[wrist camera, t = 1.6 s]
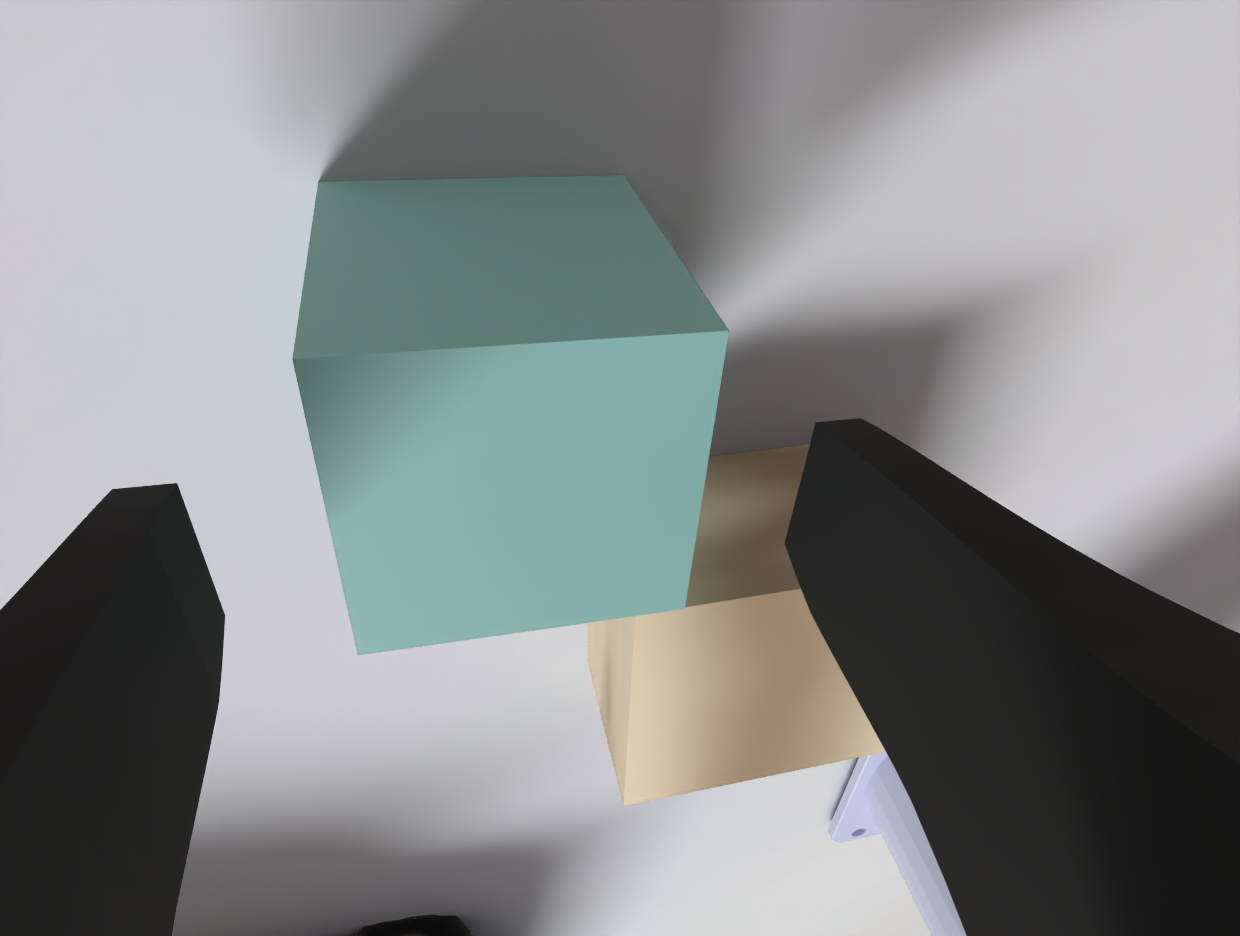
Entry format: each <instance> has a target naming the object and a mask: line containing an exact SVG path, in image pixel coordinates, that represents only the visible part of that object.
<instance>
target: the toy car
mask: <svg viewBox="0 0 1240 936" xmlns="http://www.w3.org/2000/svg"><path fill="white" fill-rule="evenodd" d="M357 936H471V933H470V930H469V929H468V928H467V927H466V926H465V925H464V924H463V923H462V922H461V921H460V919H459V918H458V917H457V916H439V915H425V916H416V917H409V918H405V919H401V920H396V921H389V922H382V923H378V924H374V925H370V926H364V927H363V929H362V930H361V931H360V932H359V933H358V934H357Z"/></svg>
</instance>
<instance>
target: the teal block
mask: <svg viewBox="0 0 1240 936" xmlns="http://www.w3.org/2000/svg"><path fill="white" fill-rule="evenodd" d="M728 335H729V330H728V328H727V327H726V325H725V324H724V322H723V321H722V319H721V318H720V316H719V315H718V313H717V312H716V311H715V309H714V308H713V306H712V305H711V303H710V302H709V300H708V299H707V297H706V296H705V294H704V293H703V291H702V290H701V288H700V287H699V285H698V284H697V282H696V281H695V279H694V278H693V276H692V275H691V273H690V272H689V271H688V269H687V268H686V266H685V265H684V263H683V262H682V260H681V259H680V257H679V256H678V254H677V253H676V251H675V250H674V248H673V247H672V245H671V244H670V242H669V241H668V239H667V238H666V236H665V235H664V233H663V232H662V231H661V229H660V228H659V226H658V225H657V223H656V222H655V220H654V219H653V217H652V216H651V214H650V213H649V211H648V210H647V208H646V207H645V205H644V204H643V202H642V201H641V199H640V198H639V196H638V195H637V193H636V192H635V190H634V189H633V188H632V186H631V185H630V183H629V182H628V180H627V179H626V177H625V176H624V175H597V176H549V177H502V178H455V179H407V180H360V181H318V187H317V194H316V201H315V208H314V215H313V222H312V229H311V236H310V242H309V249H308V256H307V263H306V270H305V277H304V284H303V290H302V297H301V304H300V311H299V318H298V325H297V332H296V339H295V345H294V352H293V364H294V368H295V373H296V377H297V382H298V386H299V391H300V395H301V400H302V404H303V409H304V413H305V418H306V423H307V427H308V432H309V436H310V441H311V445H312V450H313V454H314V459H315V463H316V468H317V472H318V477H319V481H320V486H321V491H322V495H323V500H324V504H325V509H326V513H327V518H328V522H329V527H330V531H331V536H332V540H333V545H334V550H335V554H336V559H337V563H338V568H339V572H340V577H341V581H342V586H343V590H344V595H345V599H346V604H347V609H348V613H349V618H350V622H351V627H352V631H353V636H354V640H355V645H356V649H357V654H358V655H363V654H370V653H377V652H384V651H391V650H398V649H406V648H413V647H420V646H427V645H434V644H441V643H448V642H455V641H462V640H469V639H477V638H484V637H491V636H498V635H505V634H512V633H519V632H526V631H533V630H540V629H547V628H555V627H562V626H569V625H576V624H583V623H590V622H597V621H604V620H611V619H618V618H625V617H633V616H640V615H647V614H654V613H661V612H668V611H675V610H682V609H685V604H686V598H687V591H688V585H689V579H690V572H691V566H692V560H693V554H694V547H695V541H696V535H697V529H698V522H699V516H700V510H701V504H702V497H703V491H704V485H705V479H706V472H707V466H708V460H709V454H710V447H711V441H712V435H713V428H714V422H715V416H716V410H717V403H718V397H719V391H720V385H721V378H722V372H723V366H724V360H725V353H726V347H727V341H728Z"/></svg>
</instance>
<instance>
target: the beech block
mask: <svg viewBox="0 0 1240 936" xmlns="http://www.w3.org/2000/svg"><path fill="white" fill-rule="evenodd" d="M809 446H810V444H805V445H797V446H789V447H781V448H773V449H765V450H757V451H749V452H741V453H733V454H725V455H717V456H709V460H708V466H707V472H706V479H705V485H704V491H703V497H702V504H701V510H700V516H699V522H698V529H697V535H696V541H695V547H694V554H693V560H692V566H691V572H690V579H689V585H688V591H687V598H686V604H685V609H682V610H675V611H668V612H661V613H654V614H647V615H640V616H633V617H625V618H618V619H611V620H604V621H597V622H590V623H588V665H589V669H590V673H591V677H592V681H593V685H594V689H595V693H596V697H597V701H598V705H599V709H600V713H601V717H602V721H603V725H604V729H605V733H606V737H607V741H608V745H609V749H610V753H611V757H612V761H613V766H614V770H615V774H616V778H617V782H618V786H619V790H620V794H621V798H622V802H623V806H627V805H631V804H636V803H641V802H646V801H651V800H656V799H660V798H665V797H670V796H675V795H680V794H684V793H689V792H694V791H699V790H704V789H709V788H713V787H718V786H723V785H728V784H733V783H737V782H742V781H747V780H752V779H757V778H762V777H766V776H771V775H776V774H781V773H786V772H790V771H795V770H800V769H805V768H810V767H814V766H819V765H824V764H829V763H834V762H839V761H843V760H848V759H853V758H858V757H863V756H867V755H872V754H877V753H882V752H884V751H885V749H884V747H883V746H882V744H881V742H880V740H879V738H878V736H877V735H876V733H875V731H874V729H873V727H872V726H871V724H870V722H869V720H868V718H867V716H866V715H865V713H864V711H863V709H862V707H861V706H860V704H859V702H858V700H857V698H856V696H855V695H854V693H853V691H852V689H851V687H850V686H849V684H848V682H847V680H846V678H845V676H844V675H843V673H842V671H841V669H840V667H839V665H838V664H837V662H836V660H835V658H834V656H833V654H832V652H831V651H830V649H829V647H828V645H827V643H826V641H825V639H824V638H823V636H822V634H821V632H820V630H819V628H818V626H817V624H816V622H815V620H814V619H813V617H812V615H811V613H810V610H809V608H808V605H807V603H806V600H805V598H804V595H803V593H802V590H801V588H800V585H799V583H798V580H797V577H796V574H795V572H794V569H793V566H792V563H791V560H790V558H789V555H788V552H787V549H786V547H785V544H784V543H785V539H786V535H787V531H788V527H789V524H790V520H791V516H792V512H793V508H794V504H795V500H796V497H797V493H798V489H799V485H800V481H801V477H802V473H803V470H804V466H805V462H806V458H807V454H808V450H809Z"/></svg>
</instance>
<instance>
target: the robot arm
mask: <svg viewBox="0 0 1240 936" xmlns="http://www.w3.org/2000/svg"><path fill="white" fill-rule="evenodd" d="M784 544H785V547H786V549H787V552H788V555H789V558H790V560H791V563H792V566H793V569H794V572H795V574H796V577H797V580H798V583H799V585H800V588H801V590H802V593H803V595H804V598H805V600H806V603H807V605H808V608H809V610H810V613H811V615H812V617H813V619H814V620H815V622H816V624H817V626H818V628H819V630H820V632H821V634H822V636H823V638H824V639H825V641H826V643H827V645H828V647H829V649H830V651H831V652H832V654H833V656H834V658H835V660H836V662H837V664H838V665H839V667H840V669H841V671H842V673H843V675H844V676H845V678H846V680H847V682H848V684H849V686H850V687H851V689H852V691H853V693H854V695H855V696H856V698H857V700H858V702H859V704H860V706H861V707H862V709H863V711H864V713H865V715H866V716H867V718H868V720H869V722H870V724H871V726H872V727H873V729H874V731H875V733H876V735H877V736H878V738H879V740H880V742H881V744H882V746H883V747H884V749H885V751H884V752H882V753H877V754H872V755H867V756H863V757H859V759H858V761H857V764H856V766H855V768H854V770H853V773H852V775H851V777H850V780H849V782H848V784H847V787H846V789H845V791H844V794H843V796H842V798H841V801H840V803H839V805H838V807H837V810H836V812H835V814H834V817H833V819H832V821H831V824H830V826H829V828H828V832H829V834H830V836H831V839H832V840H833V841H835V842H844V841H849V840H854V839H858V838H863V837H868V836H872V835H877V834H881V835H882V837H883V839H884V841H885V843H886V845H887V847H888V849H889V851H890V853H891V855H892V857H893V859H894V861H895V863H896V865H897V867H898V869H899V871H900V873H901V875H902V877H903V879H904V881H905V883H906V885H907V887H908V889H909V891H910V893H911V895H912V897H913V899H914V902H915V904H916V906H917V908H918V910H919V912H920V914H921V916H922V918H923V920H924V922H925V924H926V926H927V928H928V930H929V932H930V934H931V936H1240V634H1239V633H1237V632H1235V631H1233V630H1230V629H1228V628H1226V627H1224V626H1222V625H1220V624H1218V623H1216V622H1213V621H1211V620H1209V619H1207V618H1205V617H1203V616H1201V615H1199V614H1197V613H1195V612H1193V611H1191V610H1189V609H1187V608H1185V607H1183V606H1181V605H1179V604H1177V603H1175V602H1173V601H1171V600H1169V599H1167V598H1164V597H1162V596H1160V595H1158V594H1156V593H1154V592H1152V591H1150V590H1148V589H1146V588H1145V587H1143V586H1141V585H1139V584H1137V583H1135V582H1133V581H1131V580H1129V579H1127V578H1126V577H1124V576H1122V575H1120V574H1118V573H1116V572H1114V571H1113V570H1111V569H1109V568H1107V567H1106V566H1104V565H1102V564H1100V563H1098V562H1097V561H1095V560H1093V559H1091V558H1090V557H1088V556H1086V555H1084V554H1083V553H1081V552H1079V551H1077V550H1075V549H1074V548H1072V547H1070V546H1068V545H1067V544H1065V543H1063V542H1061V541H1060V540H1058V539H1056V538H1055V537H1053V536H1051V535H1050V534H1048V533H1046V532H1045V531H1043V530H1041V529H1039V528H1038V527H1036V526H1034V525H1033V524H1031V523H1029V522H1028V521H1026V520H1025V519H1023V518H1021V517H1020V516H1018V515H1016V514H1015V513H1013V512H1012V511H1010V510H1008V509H1007V508H1005V507H1003V506H1002V505H1000V504H999V503H997V502H996V501H994V500H992V499H991V498H989V497H988V496H986V495H984V494H983V493H981V492H980V491H978V490H976V489H975V488H973V487H972V486H970V485H969V484H967V483H965V482H964V481H962V480H961V479H959V478H958V477H956V476H955V475H953V474H951V473H950V472H948V471H947V470H945V469H944V468H942V467H940V466H939V465H937V464H936V463H934V462H933V461H931V460H930V459H928V458H926V457H925V456H923V455H922V454H920V453H919V452H917V451H915V450H914V449H912V448H911V447H909V446H907V445H906V444H904V443H903V442H901V441H899V440H898V439H896V438H894V437H893V436H891V435H890V434H888V433H886V432H885V431H883V430H881V429H879V428H878V427H876V426H874V425H872V424H870V423H869V422H867V421H865V420H863V419H861V418H859V419H849V420H838V421H828V422H817V423H815V427H814V431H813V435H812V439H811V443H810V446H809V450H808V454H807V458H806V462H805V466H804V470H803V473H802V477H801V481H800V485H799V489H798V493H797V497H796V500H795V504H794V508H793V512H792V516H791V520H790V524H789V527H788V531H787V535H786V539H785V543H784ZM224 624H225V614H224V611H223V609H222V606H221V603H220V600H219V598H218V595H217V592H216V589H215V586H214V584H213V581H212V578H211V575H210V573H209V570H208V567H207V564H206V562H205V559H204V556H203V553H202V551H201V548H200V545H199V542H198V540H197V537H196V534H195V531H194V529H193V526H192V523H191V520H190V518H189V515H188V512H187V509H186V507H185V504H184V501H183V498H182V496H181V493H180V490H179V487H178V485H177V483H174V484H163V485H152V486H142V487H131V488H121V489H112V490H111V491H110V492H109V493H108V494H107V495H106V496H105V497H104V498H103V499H102V501H101V502H100V503H99V504H98V505H97V506H96V507H95V508H94V509H93V510H92V511H91V512H90V513H89V514H88V516H87V517H86V518H85V519H84V520H83V521H82V522H81V523H80V524H79V525H78V526H77V527H76V529H75V530H74V531H73V532H72V533H71V534H70V535H69V536H68V537H67V538H66V539H65V541H64V542H63V543H62V544H61V545H60V546H59V547H58V548H57V549H56V550H55V551H54V553H53V554H52V555H51V556H50V557H49V558H48V559H47V560H46V561H45V562H44V564H43V565H42V566H41V567H40V568H39V569H38V570H37V571H36V572H35V573H34V574H33V576H32V577H31V578H30V579H29V580H28V581H27V582H26V583H25V584H24V585H23V586H22V587H21V589H20V590H19V591H18V592H17V593H16V594H15V595H14V596H13V597H12V598H11V599H10V600H9V601H8V602H7V604H6V605H5V606H4V607H3V608H2V609H1V610H0V936H172V930H173V924H174V918H175V912H176V906H177V902H178V897H179V892H180V888H181V883H182V878H183V873H184V869H185V864H186V859H187V854H188V850H189V845H190V840H191V835H192V831H193V826H194V821H195V816H196V812H197V807H198V802H199V797H200V793H201V788H202V783H203V778H204V774H205V769H206V764H207V759H208V754H209V749H210V744H211V739H212V734H213V730H214V725H215V719H216V714H217V709H218V704H219V695H220V683H221V671H222V658H223V641H224Z"/></svg>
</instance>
